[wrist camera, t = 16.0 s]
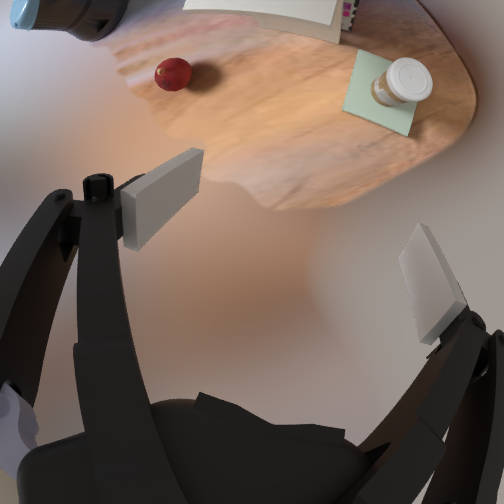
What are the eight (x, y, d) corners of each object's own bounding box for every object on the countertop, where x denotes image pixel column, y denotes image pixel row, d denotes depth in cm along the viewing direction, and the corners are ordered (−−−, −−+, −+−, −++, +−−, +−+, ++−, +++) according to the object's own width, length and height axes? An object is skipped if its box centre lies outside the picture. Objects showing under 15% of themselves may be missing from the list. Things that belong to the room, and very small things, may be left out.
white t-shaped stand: (253, 57, 34) (182, 9, 15) (263, 21, 30) (203, -46, 11) (330, 75, 32) (330, 25, 13) (340, 38, 29) (345, -35, 10)
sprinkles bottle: (381, 70, 28) (406, 47, 16) (406, 92, 28) (442, 81, 16) (363, 92, 30) (380, 77, 18) (388, 114, 30) (417, 111, 19)
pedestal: (341, 110, 35) (342, 109, 32) (356, 53, 30) (358, 48, 27) (402, 135, 33) (407, 136, 31) (417, 79, 28) (424, 76, 26)
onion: (197, 92, 39) (172, 89, 32) (168, 92, 40) (140, 90, 33) (202, 61, 36) (177, 52, 29) (172, 62, 37) (145, 55, 30)
